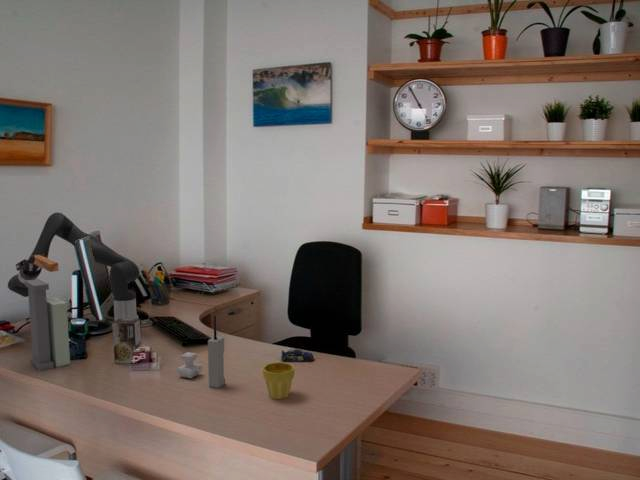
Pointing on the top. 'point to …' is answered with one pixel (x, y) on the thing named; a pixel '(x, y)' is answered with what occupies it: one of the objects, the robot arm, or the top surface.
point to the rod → (46, 263)
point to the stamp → (189, 366)
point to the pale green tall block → (58, 331)
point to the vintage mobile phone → (216, 360)
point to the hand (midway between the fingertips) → (38, 256)
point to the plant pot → (278, 379)
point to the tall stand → (39, 324)
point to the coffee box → (126, 339)
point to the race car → (296, 356)
